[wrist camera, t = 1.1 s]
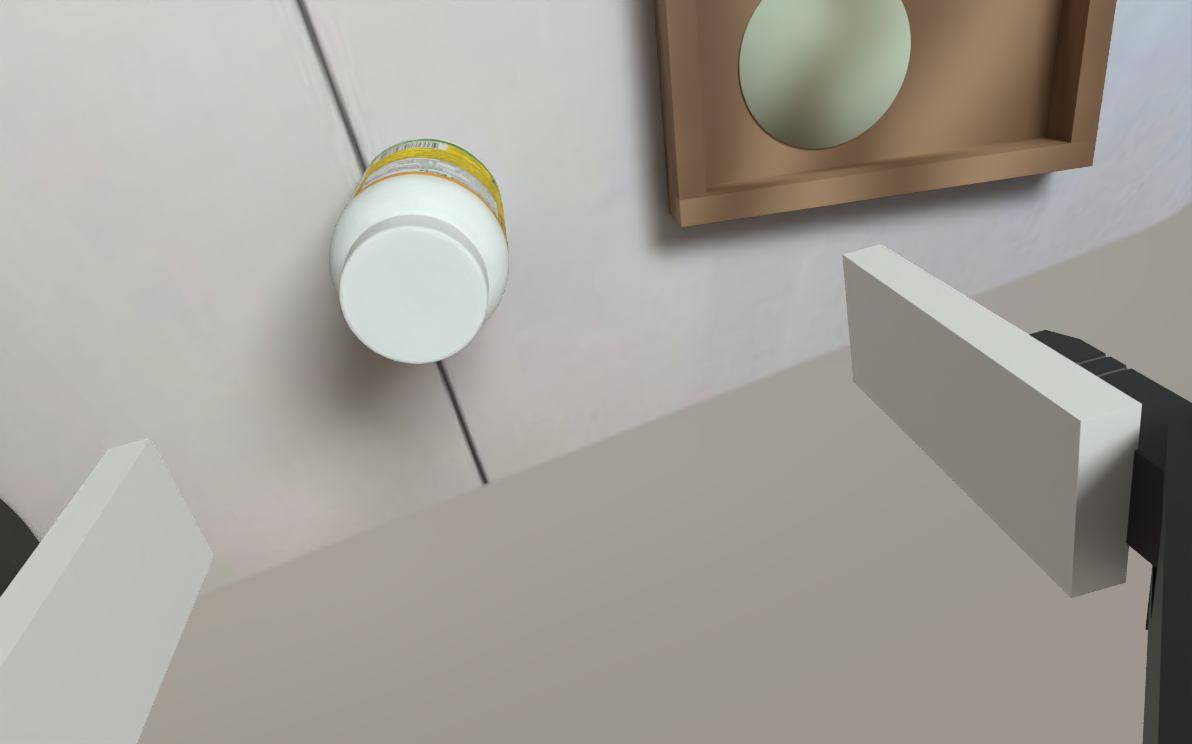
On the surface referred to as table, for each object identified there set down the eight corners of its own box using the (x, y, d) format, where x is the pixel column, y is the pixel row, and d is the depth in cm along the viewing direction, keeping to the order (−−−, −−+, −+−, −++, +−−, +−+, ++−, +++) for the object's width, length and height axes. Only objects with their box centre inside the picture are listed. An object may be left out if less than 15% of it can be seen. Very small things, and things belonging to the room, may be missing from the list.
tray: (669, 213, 32) (681, 227, 31) (648, -77, 28) (659, -81, 26) (1059, 155, 34) (1092, 166, 32) (1096, -132, 29) (1136, -139, 28)
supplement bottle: (410, 104, 30) (386, 155, 21) (531, 195, 32) (554, 276, 23) (328, 223, 31) (272, 317, 22) (448, 303, 33) (440, 419, 24)
